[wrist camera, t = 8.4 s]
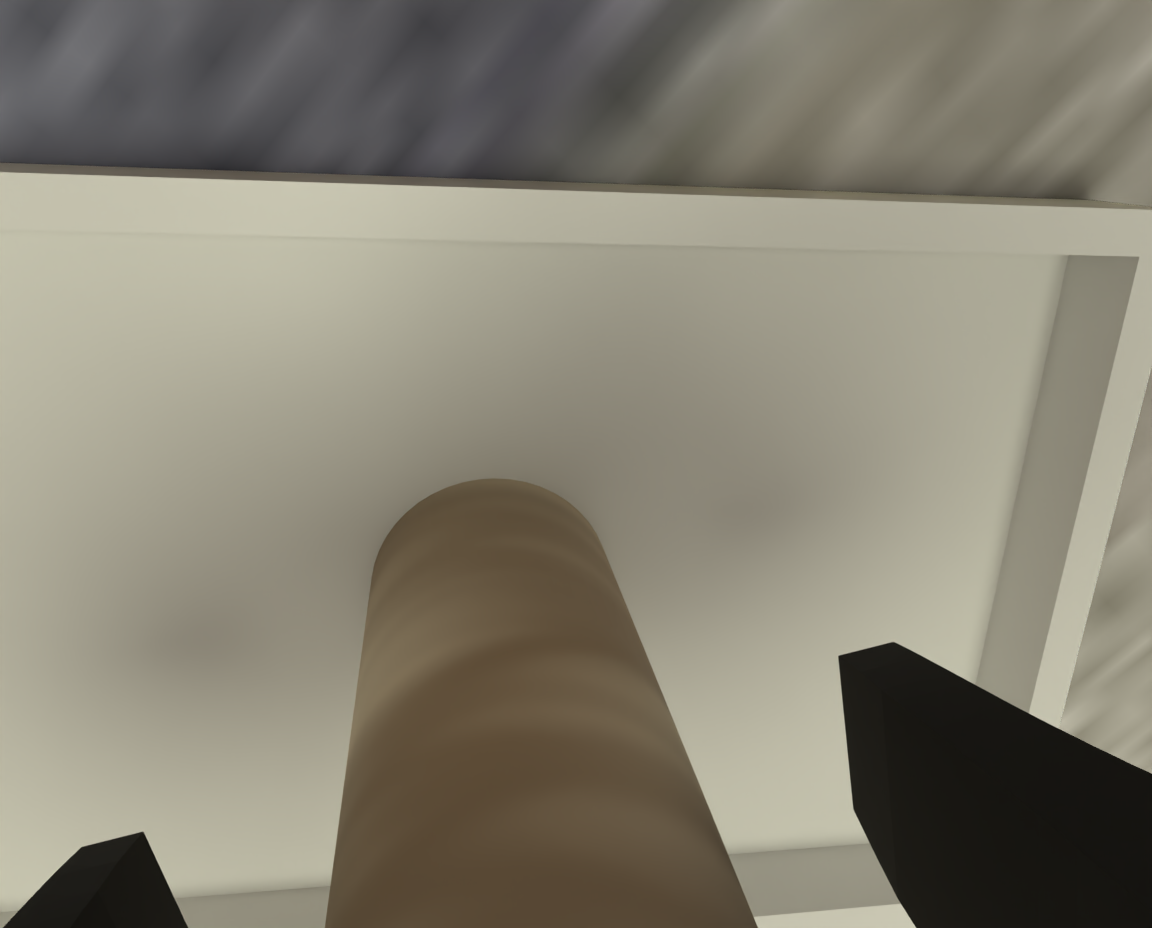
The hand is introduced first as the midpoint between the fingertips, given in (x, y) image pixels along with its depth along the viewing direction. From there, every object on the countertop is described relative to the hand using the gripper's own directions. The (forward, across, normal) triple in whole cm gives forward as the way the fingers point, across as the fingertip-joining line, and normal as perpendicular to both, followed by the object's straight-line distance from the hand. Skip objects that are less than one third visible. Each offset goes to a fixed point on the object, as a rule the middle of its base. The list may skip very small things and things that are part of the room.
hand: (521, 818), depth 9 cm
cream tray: (+6, 0, 0) cm, 6 cm away
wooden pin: (+5, 0, 0) cm, 5 cm away
